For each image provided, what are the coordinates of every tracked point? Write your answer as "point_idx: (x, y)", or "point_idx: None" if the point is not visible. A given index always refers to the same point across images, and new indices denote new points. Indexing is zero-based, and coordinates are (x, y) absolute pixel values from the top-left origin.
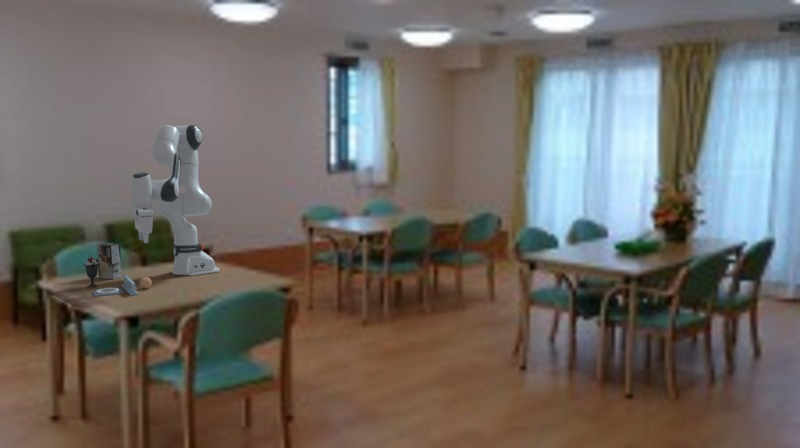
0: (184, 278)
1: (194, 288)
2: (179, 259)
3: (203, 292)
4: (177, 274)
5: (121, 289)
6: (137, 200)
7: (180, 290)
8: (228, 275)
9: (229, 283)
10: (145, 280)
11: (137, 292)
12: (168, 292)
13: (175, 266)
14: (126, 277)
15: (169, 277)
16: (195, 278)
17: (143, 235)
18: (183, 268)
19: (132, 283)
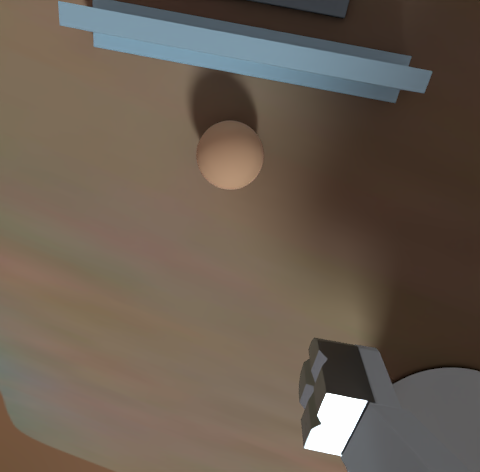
0: None
1: (111, 306)
2: (457, 447)
3: (20, 298)
4: (425, 371)
5: (277, 1)
6: None
7: (100, 252)
8: (267, 460)
9: (134, 411)
10: (201, 149)
11: (104, 48)
12: (82, 198)
13: (467, 403)
14: (315, 53)
15: (408, 329)
16: None
17: (347, 466)
18: (410, 409)
19: (64, 5)
